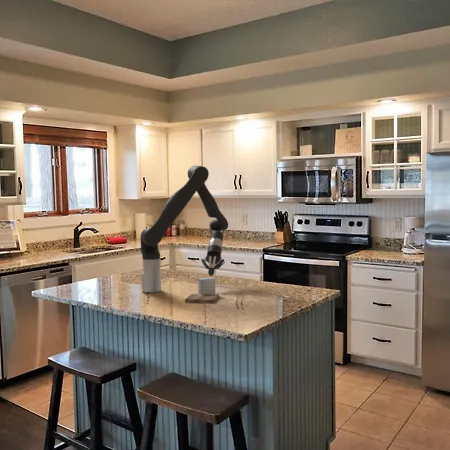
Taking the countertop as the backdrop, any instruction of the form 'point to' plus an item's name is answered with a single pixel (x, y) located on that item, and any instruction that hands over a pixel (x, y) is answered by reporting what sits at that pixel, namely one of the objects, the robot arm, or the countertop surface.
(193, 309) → the countertop surface
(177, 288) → the countertop surface
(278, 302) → the countertop surface
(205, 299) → the board
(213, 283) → the medicine box
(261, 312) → the countertop surface
